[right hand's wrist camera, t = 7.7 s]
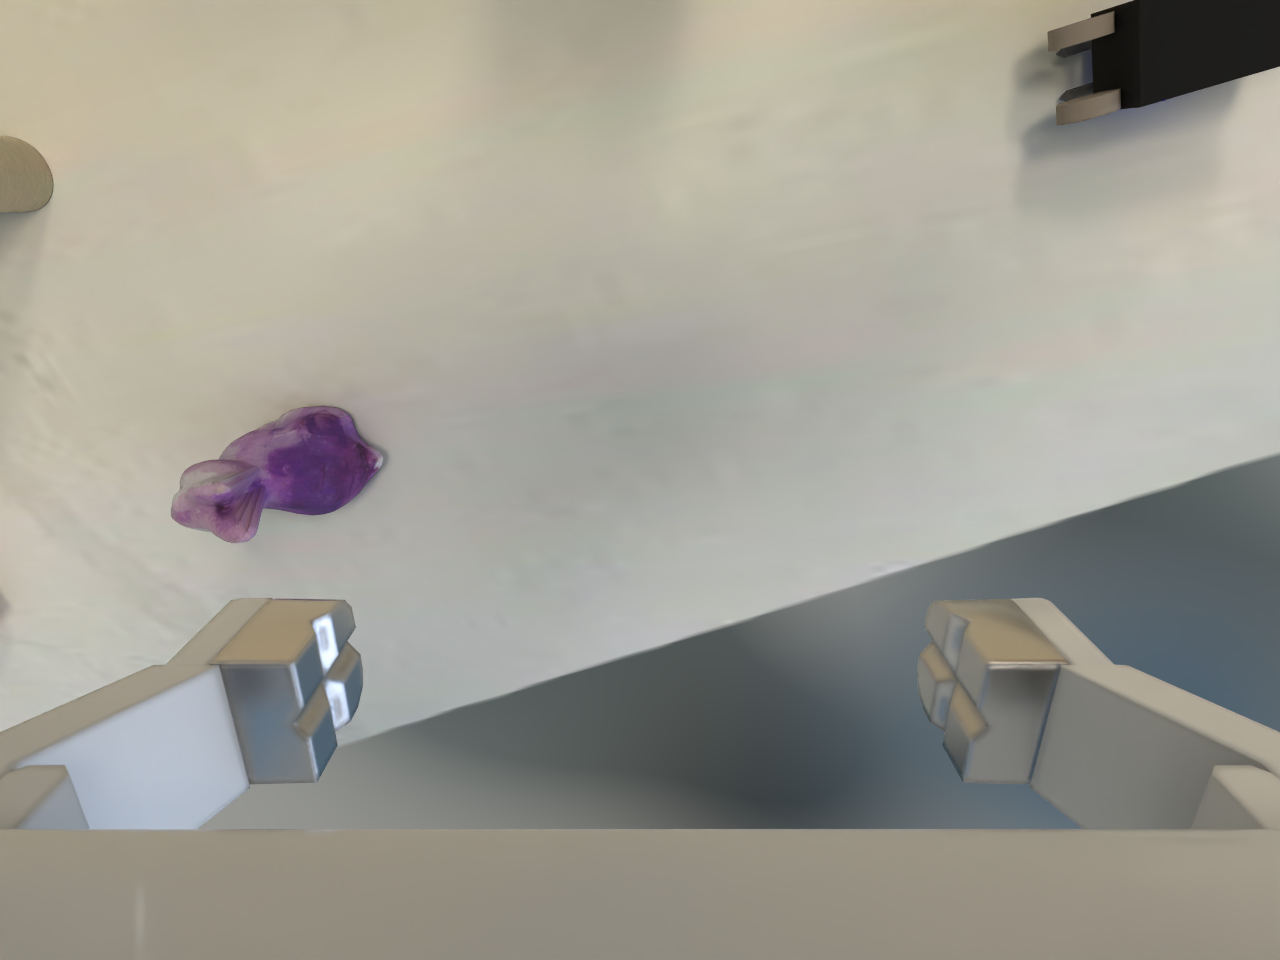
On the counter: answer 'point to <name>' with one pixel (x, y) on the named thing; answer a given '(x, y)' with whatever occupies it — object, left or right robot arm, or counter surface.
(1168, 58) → the figurine character
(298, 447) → the figurine
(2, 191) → the jar
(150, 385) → the counter surface
